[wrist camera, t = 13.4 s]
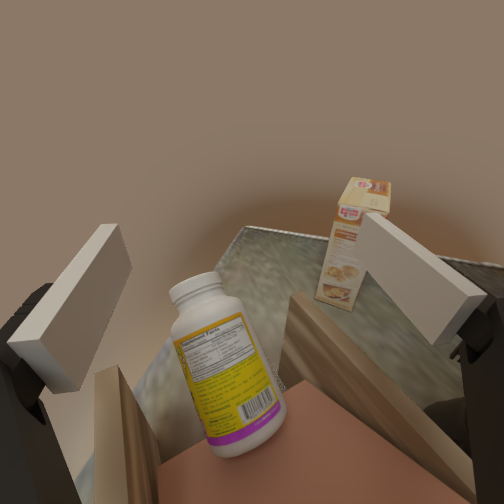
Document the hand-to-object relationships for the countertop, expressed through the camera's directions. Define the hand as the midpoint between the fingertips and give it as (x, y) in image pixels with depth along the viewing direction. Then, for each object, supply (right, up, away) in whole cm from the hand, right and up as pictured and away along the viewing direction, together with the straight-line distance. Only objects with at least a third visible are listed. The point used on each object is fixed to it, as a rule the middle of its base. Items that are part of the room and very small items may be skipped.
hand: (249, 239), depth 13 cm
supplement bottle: (0, -15, +6) cm, 16 cm away
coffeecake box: (+18, -7, +36) cm, 41 cm away
